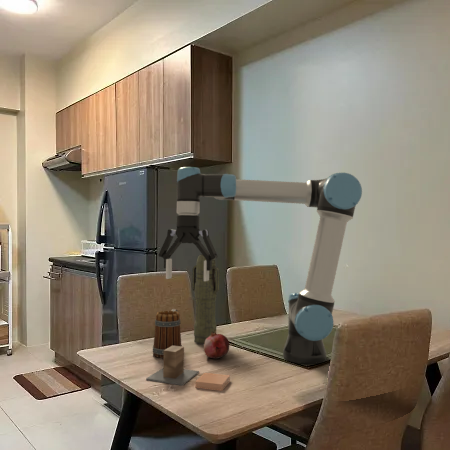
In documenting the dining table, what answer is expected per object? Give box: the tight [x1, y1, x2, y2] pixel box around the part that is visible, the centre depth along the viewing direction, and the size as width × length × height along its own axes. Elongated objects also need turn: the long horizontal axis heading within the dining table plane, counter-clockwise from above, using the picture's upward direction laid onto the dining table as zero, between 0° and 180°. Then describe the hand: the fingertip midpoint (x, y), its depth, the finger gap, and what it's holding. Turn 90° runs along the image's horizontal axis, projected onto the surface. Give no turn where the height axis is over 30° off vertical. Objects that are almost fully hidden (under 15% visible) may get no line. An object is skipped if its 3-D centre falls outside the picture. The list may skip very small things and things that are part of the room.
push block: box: [162, 346, 185, 379], centre depth 134 cm, size 4×6×8 cm, turn 160°
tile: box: [194, 372, 231, 392], centre depth 127 cm, size 8×2×8 cm
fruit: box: [203, 330, 230, 359], centre depth 154 cm, size 9×10×10 cm
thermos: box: [191, 253, 221, 345], centre depth 175 cm, size 9×12×35 cm
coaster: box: [146, 368, 200, 386], centre depth 134 cm, size 12×12×1 cm
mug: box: [152, 308, 183, 359], centre depth 159 cm, size 16×11×15 cm
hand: (187, 279), depth 142 cm, fingers open, 13 cm apart
